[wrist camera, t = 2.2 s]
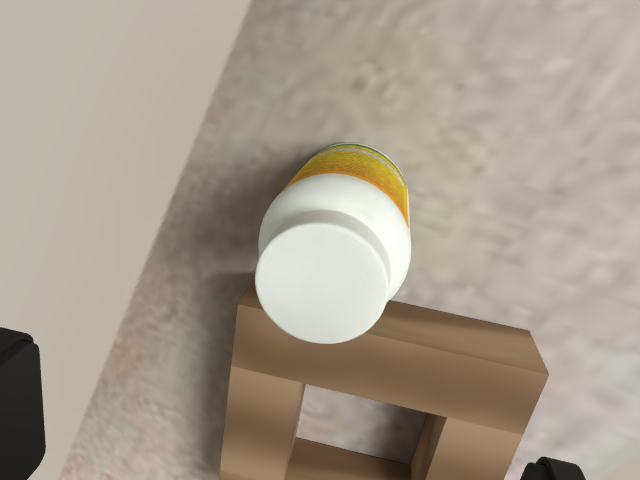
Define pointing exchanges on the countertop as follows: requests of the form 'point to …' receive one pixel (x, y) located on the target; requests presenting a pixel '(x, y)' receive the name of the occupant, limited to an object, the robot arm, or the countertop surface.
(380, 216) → the supplement bottle
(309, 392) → the countertop surface
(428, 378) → the socket block
